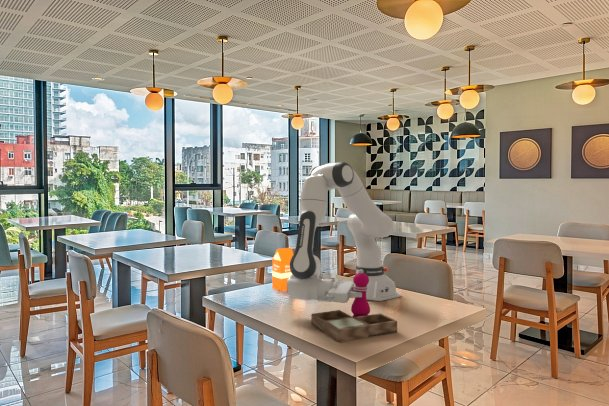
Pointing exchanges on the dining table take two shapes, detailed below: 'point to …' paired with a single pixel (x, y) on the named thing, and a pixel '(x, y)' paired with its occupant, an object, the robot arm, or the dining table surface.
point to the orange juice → (281, 268)
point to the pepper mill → (361, 303)
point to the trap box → (352, 325)
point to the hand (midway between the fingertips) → (363, 292)
